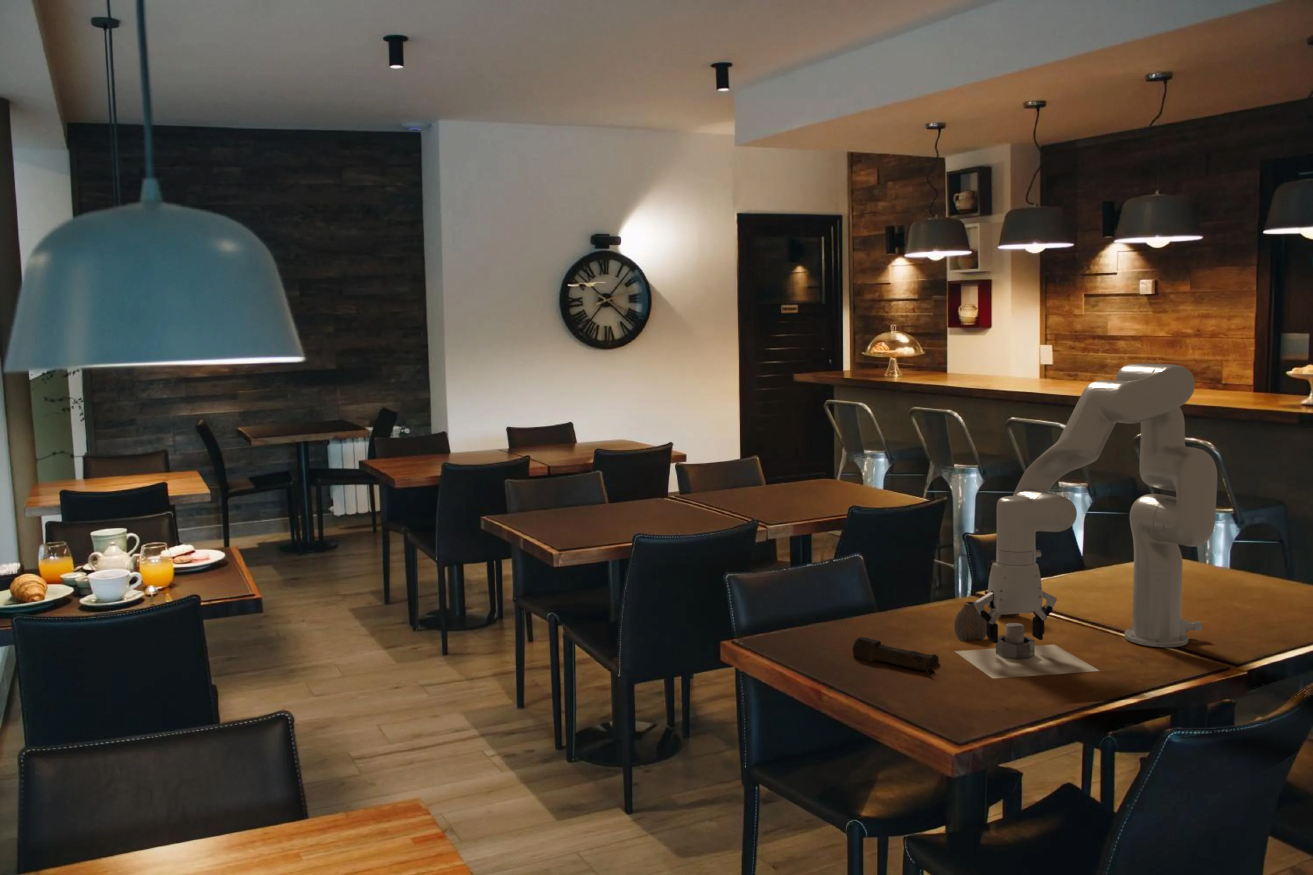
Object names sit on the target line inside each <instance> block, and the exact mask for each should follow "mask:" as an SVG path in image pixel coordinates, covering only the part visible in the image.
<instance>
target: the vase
mask: <svg viewBox="0 0 1313 875" xmlns="http://www.w3.org/2000/svg"><path fill="white" fill-rule="evenodd" d="M974 602H975V601H966V602H965V603H964V605H963V606H962V608H961V609H960V610H959V611H958V612H957V614H956V616H955V619H954V628H953V629H954V633H955V635H956V638H957V639H958V641H959V642H971V641H983V640H984V641H985V639H986V638H987V634H986V625H987V621H985V620H984V618H983V617H981V616H980V615H979V613H978V611H977V609H976V607H975V605H974Z"/></svg>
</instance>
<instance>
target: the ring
mask: <svg viewBox="0 0 1313 875" xmlns="http://www.w3.org/2000/svg"><path fill="white" fill-rule="evenodd" d="M1005 636H1006V634H1003V635H1002V634H1001V635H998V642H997V643H995V648H996V654H998V655H999V656H1001V657H1003V658H1009V659H1015V660H1020V659H1030V658H1032V657H1033V656H1034V655H1035V646H1036V645H1035V644H1036V643H1035V642H1036V641H1035V640H1034V639H1032V638H1030V637H1029V636H1026V635H1024V643H1023V644H1013V643H1007V642H1005Z"/></svg>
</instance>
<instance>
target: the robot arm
mask: <svg viewBox="0 0 1313 875" xmlns="http://www.w3.org/2000/svg"><path fill="white" fill-rule="evenodd" d="M1195 388H1196V383H1195V376H1194V375H1193V373H1192V372H1191V371H1190V369H1188V368H1186V367H1184V366H1183V365H1179V364H1171V363H1170V364H1169V363H1168V364H1166V363H1165V364H1164V363H1147V362H1146V363H1143V362H1141V363H1140V362H1139V363H1136V362H1135V363H1130V364H1125V365H1124V366H1122V367H1121V368H1120V369H1119V370H1118V371H1117V373H1116V377H1115V380H1111V379H1110V380H1109V379H1107V380H1106V379H1104V380H1103V379H1101V380H1096V381H1092V382H1090V383H1089V384H1087V385H1086V386H1085V388H1084V389H1083V391H1082V393H1081V395H1080V397H1079V399H1078V401H1077V403H1076V404H1075V407H1074V409H1073V411H1072V413H1071V415H1070V417H1069V419H1068V420H1067V423H1066V425H1065V426H1064V429H1063V430H1062V432H1061V434H1060V436H1059V438H1058V440H1057V441H1056V442H1055V444H1053V445H1052V446H1050V447H1049V448H1048V449H1046V450H1045V451H1044V452H1043V453H1041V455H1040V456H1038V457H1037V458H1036V459H1035V460H1034V461H1033V462H1032V463H1031V464H1030V465H1029V466H1028V467H1027V468H1026V470H1025V471H1024V472H1023V474H1022V476H1021V477H1020V480H1019V482H1018V483H1017V486H1016V488H1015V490H1014V492H1013V494H1012V495H1008V496H1003V497H1000V498H999V499H998V500H997V503H996V553H995V555H996V557H995V558H996V559H995V560H996V563H993V564H992V567H991V571H990V577H989V579H988V586H987V593H986V594H985V595H984V596H983V595H982V597H980V598H978V599H976V600H975V601H973V602H974V605H975V607H976V609H977V611H978V613H979V615H980V616H981V617H983V618H984V620H985V621H987V625H986V638H987V639H988V641H990V642H991V643H993V644H996V643H997V642H998V637H999V624H998V623H997V621H998V619H1000V618H1001V617H1000V616H1001V614H1019V615H1020V614H1031V613H1032V614H1033V615H1034V616H1033V617H1032V630H1031V631H1032V637H1033V638H1036V639H1038V640H1039V641H1042V640H1043V639H1044V634H1045V621H1047V619H1048V616H1049V615H1050V614H1051V613H1052V612H1053V610H1054V606H1055V604H1056V602H1057V601H1058V598H1057V597H1055V596H1053V595H1052V594H1049V593H1047V592H1045V591H1043V586H1042V578H1041V571H1040V568H1039V564H1038V563H1037V558H1041V557H1042V551H1041V550H1037V549H1036V533H1037V532H1047V533H1058V532H1064V531H1066V530H1067V529H1070V528H1071V527H1072V526H1073V525H1074V524H1075V522H1076V520H1077V516H1078V515H1077V514H1078V513H1077V507H1076V505H1075V504H1074V502H1073V501H1072V500H1070V499H1069V498H1067V497H1066V496H1064V495H1059V494H1054V493H1051V492H1050V490H1051V488H1052V486H1054V485H1055V483H1056V482H1057V481H1058V480H1059V479H1060V478H1062V477H1063V476H1064V475H1067V474H1068V473H1071V472H1072V471H1074V470H1077V469H1081V468H1082V467H1085V466H1088V465H1090V464H1092V463H1094V462H1096V461H1097V460H1098V459H1099V458H1100V456H1101V453H1102V451H1103V450H1104V447H1105V445H1106V443H1107V441H1108V440H1109V438H1110V435H1111V433H1112V431H1113V429H1114V428H1115V425H1116V424H1117V423H1120V424H1130V425H1131V424H1139V423H1140V448H1139V449H1140V450H1139V451H1140V452H1139V475H1140V478H1141V480H1142V482H1143V483H1144V484H1146V485H1147V486H1150V487H1153V488H1156V489H1160V490H1166V491H1172V492H1175V493H1176V494H1175V495H1176V496H1172V495H1167V494H1166V495H1165V494H1159V493H1149V494H1144V495H1142V496H1140V497H1138V498H1137V499H1136V500H1135V501H1134V502H1133V504H1132V505H1131V508H1130V511H1129V524H1130V531H1131V534H1132V540H1133V542H1132V544H1133V580H1132V581H1133V583H1132V584H1133V587H1132V588H1133V589H1132V590H1133V591H1132V594H1133V595H1132V627H1130V628H1128V629H1126V630H1125V631H1124V638H1125V639H1126V640H1127V641H1129V642H1130V643H1134V644H1138V645H1141V646H1147V647H1154V648H1178V647H1184V646H1186V645H1187V644H1188V643H1189V637H1190V636H1188V635H1187V634H1186V633H1189V631H1191V632H1192V631H1193V632H1195V631H1196V632H1197V631H1202V630H1203V624H1202V622H1201V621H1200V620H1198V621H1197V620H1196V621H1189V620H1188V619H1182V593H1183V592H1182V590H1183V589H1182V588H1183V564H1184V563H1183V555H1182V552H1181V548H1180V546H1186V547H1192V548H1193V547H1199V546H1202V545H1203V544H1205V543H1207V542H1208V541H1209V539H1210V538H1211V536H1212V534H1213V531H1214V527H1215V523H1216V522H1215V521H1216V512H1217V511H1216V510H1217V509H1216V508H1217V496H1218V495H1217V492H1218V491H1217V490H1218V470H1217V466H1216V463H1215V460H1214V459H1213V457H1212V456H1211V454H1209V453H1208V452H1207V451H1205V450H1203V449H1200V448H1197V447H1192V446H1186V426H1185V425H1186V422H1185V416H1184V412H1183V410H1182V408H1181V407H1182V406H1183V405H1184V404H1186V403H1187V402H1188V401H1189V400H1190V399H1191V398H1192V396H1193V394H1194V392H1195ZM1179 545H1180V546H1179ZM1043 599H1044V600H1046V602H1045V605H1043ZM986 605H987V608H988V609H989V610H988V612H987V611H986V609H985V606H986Z"/></svg>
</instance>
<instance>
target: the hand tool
mask: <svg viewBox="0 0 1313 875" xmlns="http://www.w3.org/2000/svg"><path fill="white" fill-rule="evenodd" d="M852 655H853V656H854V657H856V658H858V659H860V660H865V661H868V662H870V661H871V663H877V662H883V663H887V664H890V665H891V664H892V665H897V666H900V667H905V668H909V669H914V670H916V671H922V672H927V673H928V675H929V676H931V675H933V674H935V673H936V671H934V670H933V669H932V668H934V667H937V666H938V665H939V660H940V658H939V655H937V654H935V653H932V654H927V653H924V652H921V651H920V652H919V651H916V650H908V649H904V648H903V649H902V648H897V647H893V646H888V645H885V644H882V642H881V640H878V639H873V638H869V637H863V636H859V637H858V638H856V640H854V644H853V645H852Z"/></svg>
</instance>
